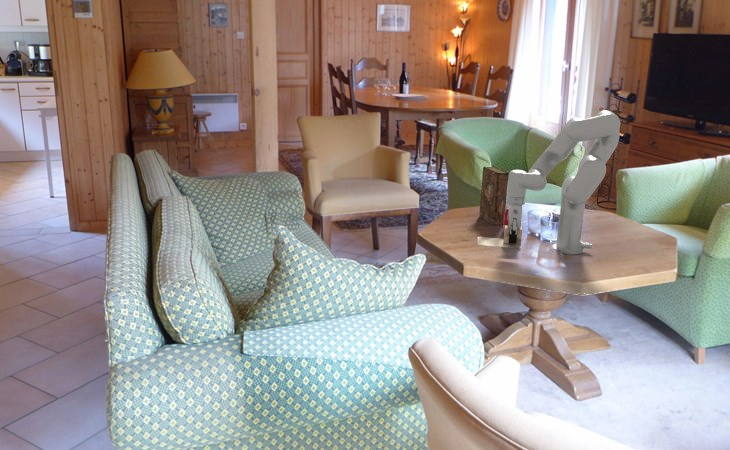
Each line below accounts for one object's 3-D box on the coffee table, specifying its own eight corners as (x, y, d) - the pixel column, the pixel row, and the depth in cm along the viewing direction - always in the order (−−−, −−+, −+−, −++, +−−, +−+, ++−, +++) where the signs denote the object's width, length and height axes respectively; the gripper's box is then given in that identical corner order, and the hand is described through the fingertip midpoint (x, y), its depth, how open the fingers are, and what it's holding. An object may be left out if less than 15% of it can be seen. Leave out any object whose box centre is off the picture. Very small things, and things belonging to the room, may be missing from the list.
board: (519, 242, 298) (519, 239, 298) (520, 251, 287) (521, 248, 287) (477, 239, 301) (477, 236, 301) (477, 247, 290) (477, 245, 289)
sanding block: (520, 242, 294) (521, 226, 292) (520, 245, 290) (522, 229, 288) (503, 241, 295) (504, 225, 294) (503, 244, 291) (505, 228, 289)
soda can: (521, 235, 308) (524, 209, 305) (508, 236, 306) (510, 210, 302) (512, 231, 315) (515, 205, 311) (499, 232, 312) (501, 206, 309)
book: (505, 225, 324) (510, 172, 317) (495, 225, 322) (499, 173, 315) (489, 215, 339) (493, 165, 332) (479, 216, 337) (483, 166, 330)
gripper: (526, 205, 279) (522, 248, 284) (524, 195, 295) (520, 236, 300) (507, 204, 280) (503, 246, 285) (506, 194, 296) (502, 235, 301)
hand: (512, 241), depth 293 cm, fingers closed on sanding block, 4 cm apart
